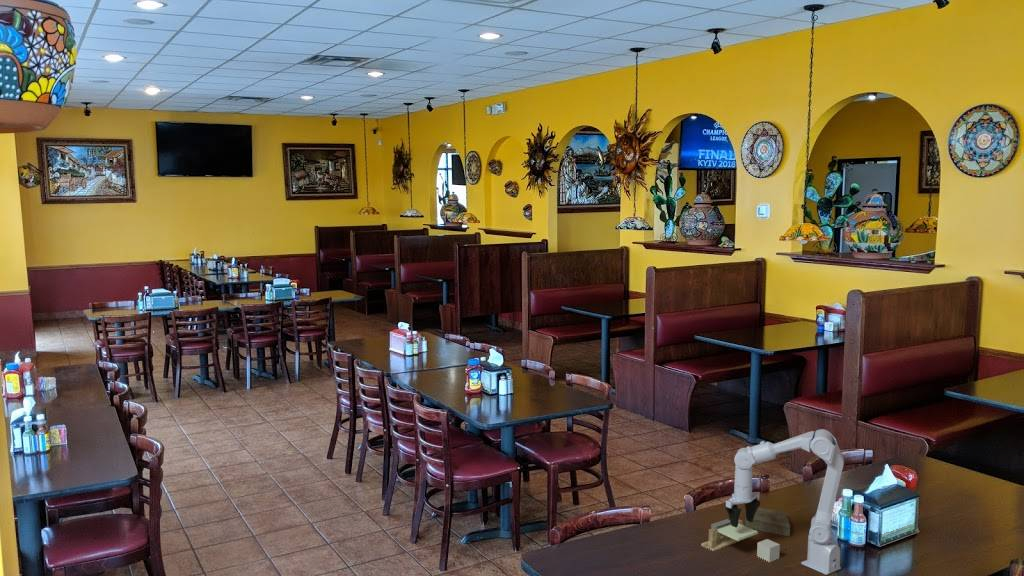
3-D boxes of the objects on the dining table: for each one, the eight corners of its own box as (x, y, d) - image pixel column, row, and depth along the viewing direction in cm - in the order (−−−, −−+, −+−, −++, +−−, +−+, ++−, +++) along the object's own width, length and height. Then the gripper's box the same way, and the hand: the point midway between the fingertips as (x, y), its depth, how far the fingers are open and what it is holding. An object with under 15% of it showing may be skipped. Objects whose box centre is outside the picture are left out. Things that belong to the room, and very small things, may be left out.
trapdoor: (757, 534, 267) (758, 530, 266) (737, 541, 261) (738, 537, 261) (728, 522, 277) (729, 518, 277) (709, 528, 271) (709, 524, 271)
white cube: (779, 558, 262) (779, 544, 261) (769, 562, 259) (770, 548, 259) (766, 553, 266) (767, 538, 265) (756, 556, 263) (757, 542, 263)
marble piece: (790, 537, 279) (791, 526, 278) (746, 533, 282) (747, 522, 281) (785, 519, 295) (786, 508, 294) (744, 515, 298) (744, 504, 298)
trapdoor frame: (742, 540, 276) (743, 521, 275) (712, 551, 267) (713, 531, 266) (731, 535, 280) (731, 516, 279) (701, 545, 271) (701, 526, 271)
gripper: (748, 476, 271) (746, 514, 273) (719, 485, 263) (717, 524, 265) (765, 482, 266) (763, 521, 267) (735, 491, 257) (734, 531, 259)
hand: (741, 523), depth 266 cm, fingers open, 7 cm apart
